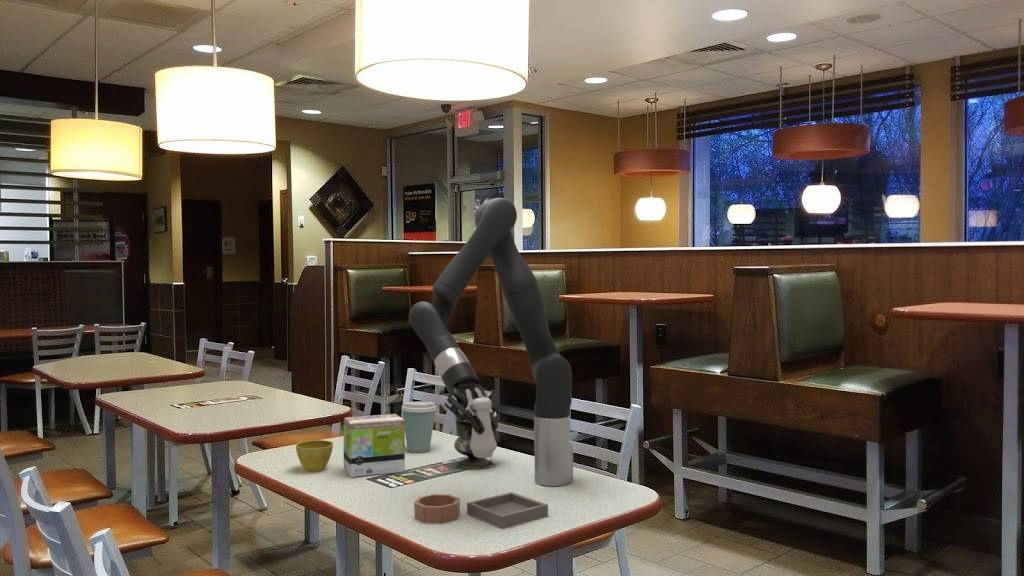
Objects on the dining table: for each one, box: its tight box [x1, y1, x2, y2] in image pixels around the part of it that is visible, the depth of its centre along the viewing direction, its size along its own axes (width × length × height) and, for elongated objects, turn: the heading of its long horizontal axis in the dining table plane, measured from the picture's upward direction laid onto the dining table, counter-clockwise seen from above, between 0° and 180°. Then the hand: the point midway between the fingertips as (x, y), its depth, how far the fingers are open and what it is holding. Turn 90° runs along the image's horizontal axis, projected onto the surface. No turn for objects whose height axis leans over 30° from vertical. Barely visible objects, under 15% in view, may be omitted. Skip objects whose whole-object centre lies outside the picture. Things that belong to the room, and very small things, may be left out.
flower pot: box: [295, 439, 334, 473], centre depth 217 cm, size 10×10×7 cm
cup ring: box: [413, 493, 461, 524], centre depth 176 cm, size 10×10×4 cm
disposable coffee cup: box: [401, 401, 437, 454], centre depth 238 cm, size 11×11×15 cm
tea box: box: [343, 413, 406, 478], centre depth 215 cm, size 15×10×15 cm, turn 114°
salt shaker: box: [470, 398, 497, 459], centre depth 176 cm, size 6×6×13 cm
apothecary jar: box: [453, 411, 498, 470], centre depth 221 cm, size 12×12×18 cm
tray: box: [466, 491, 549, 529], centre depth 176 cm, size 13×13×2 cm
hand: (488, 430), depth 174 cm, fingers closed on salt shaker, 3 cm apart
